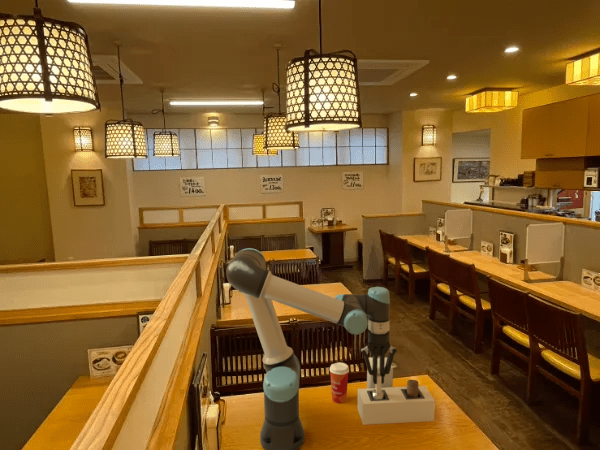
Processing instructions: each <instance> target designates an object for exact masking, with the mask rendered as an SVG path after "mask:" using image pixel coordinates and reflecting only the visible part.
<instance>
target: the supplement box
mask: <svg viewBox="0 0 600 450" xmlns="http://www.w3.org/2000/svg"><path fill="white" fill-rule="evenodd" d="M368 357H369V356H368ZM387 357H388V356H387ZM387 357H386V356H385V365H386V361H387ZM369 361H370V365H371V369H372V370H373V356H372V357H369ZM366 370H367V369H366ZM366 372H367V373H366V389H367V388H375V384H374V382H373V375H370V374H369V372H368V370H367V371H366ZM377 373H380V357H378V362H377ZM393 379H394V367H393V365H391V368H390V372H389V374H385V377H384V383H383V384H381V388H388V387H394V385H393V383H394V380H393Z"/></svg>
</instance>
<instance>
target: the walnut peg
mask: <svg viewBox="0 0 600 450" xmlns="http://www.w3.org/2000/svg"><path fill="white" fill-rule="evenodd" d="M406 382H407V383H406V387H407V397H408V398H415V397H418V386H419V382H418V380H415V379H408V380H407V381H406Z"/></svg>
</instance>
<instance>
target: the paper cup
mask: <svg viewBox="0 0 600 450" xmlns="http://www.w3.org/2000/svg"><path fill="white" fill-rule="evenodd" d="M329 371H330V386H331V399H332V402H334V403H335V404H344V403H346V401H347V398H348V397H347V395H348V384H349V383H348V380H349V379H348V378H349V372H350V369H349V366H348V364H347V363H345V362H339V361H338V362H335V363H331V365H330V367H329Z"/></svg>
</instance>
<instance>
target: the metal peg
mask: <svg viewBox="0 0 600 450" xmlns="http://www.w3.org/2000/svg"><path fill="white" fill-rule="evenodd" d="M372 399H373V400H374V399H383V391H382V390H381V393H377V392H376V390H375V389H374V390H373V391H372Z"/></svg>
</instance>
